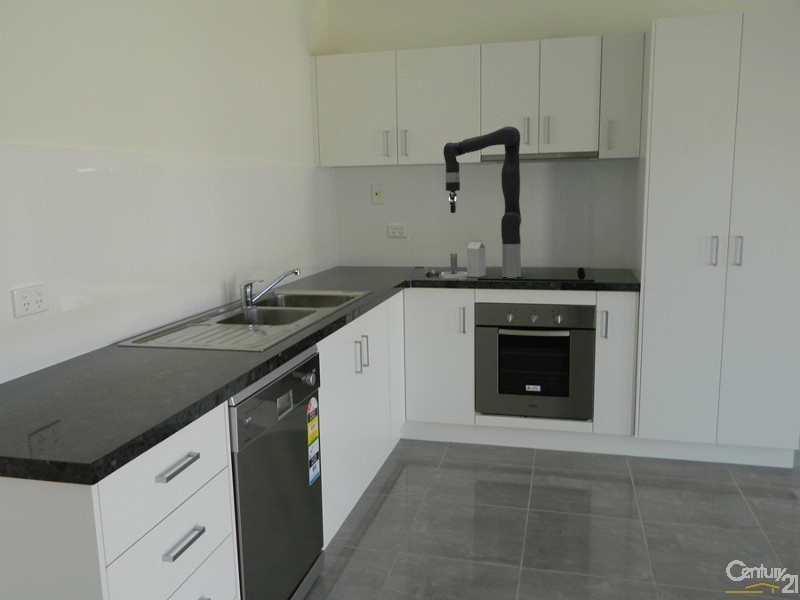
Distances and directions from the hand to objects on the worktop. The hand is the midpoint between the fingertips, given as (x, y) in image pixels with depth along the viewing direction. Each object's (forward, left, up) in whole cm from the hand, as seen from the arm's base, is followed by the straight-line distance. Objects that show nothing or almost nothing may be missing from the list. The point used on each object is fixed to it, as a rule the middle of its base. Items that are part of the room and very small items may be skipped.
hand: (453, 212), depth 355 cm
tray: (-1, +17, -33) cm, 37 cm away
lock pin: (-1, +17, -32) cm, 37 cm away
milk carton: (-12, +7, -33) cm, 36 cm away
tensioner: (+14, +16, -33) cm, 39 cm away
